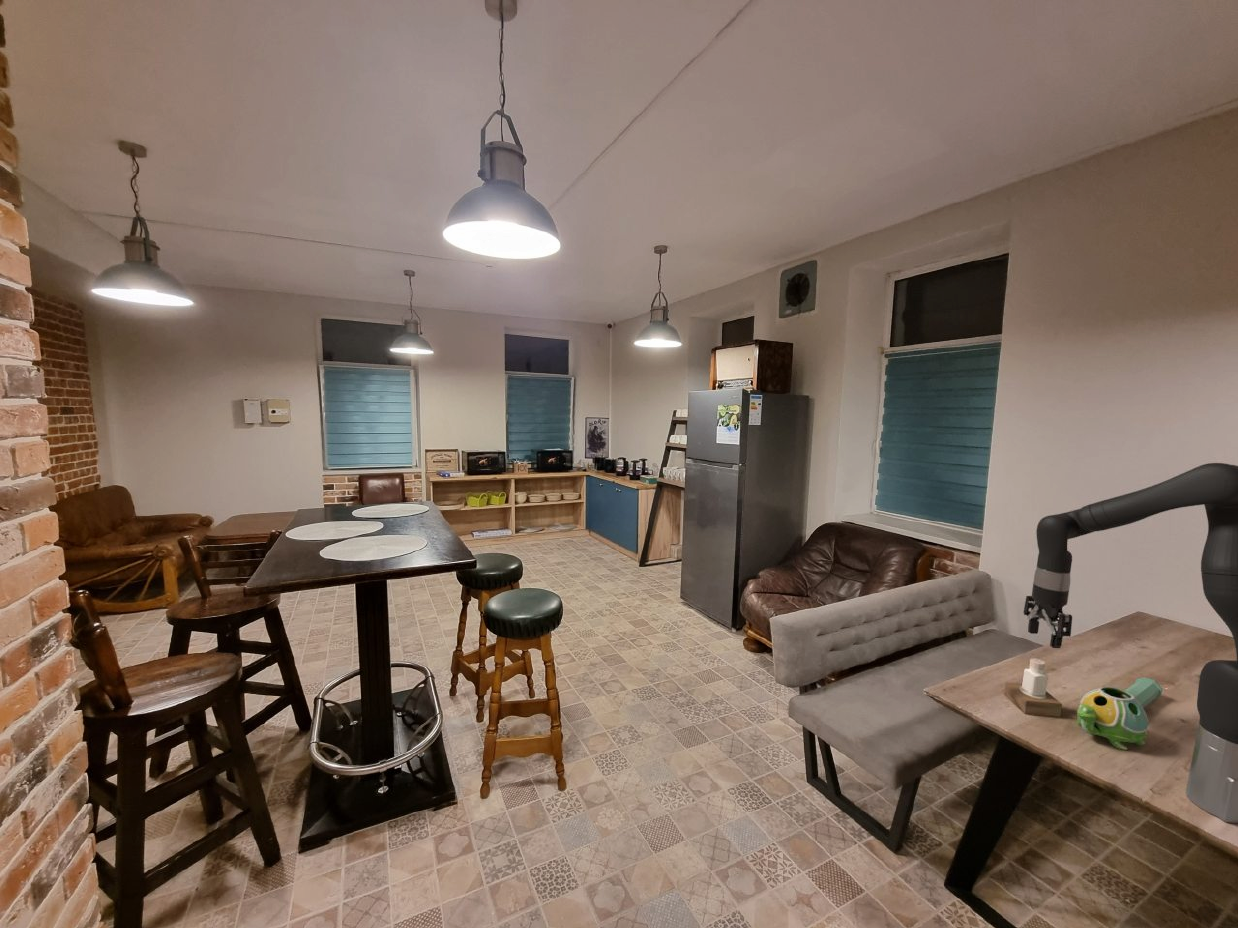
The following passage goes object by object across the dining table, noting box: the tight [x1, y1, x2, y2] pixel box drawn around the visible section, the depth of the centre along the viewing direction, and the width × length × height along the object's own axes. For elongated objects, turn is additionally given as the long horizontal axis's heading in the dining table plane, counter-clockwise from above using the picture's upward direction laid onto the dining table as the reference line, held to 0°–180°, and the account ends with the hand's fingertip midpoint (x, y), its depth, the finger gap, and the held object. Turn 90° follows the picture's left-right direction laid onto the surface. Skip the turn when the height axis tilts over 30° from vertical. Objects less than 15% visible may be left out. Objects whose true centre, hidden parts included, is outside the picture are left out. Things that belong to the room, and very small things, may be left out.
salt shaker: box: [1021, 657, 1049, 696], centre depth 140 cm, size 4×4×10 cm
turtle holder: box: [1076, 686, 1149, 751], centre depth 128 cm, size 12×18×12 cm
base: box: [1003, 681, 1063, 718], centre depth 141 cm, size 9×9×4 cm
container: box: [1122, 676, 1163, 709], centre depth 141 cm, size 6×6×25 cm
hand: (1043, 639), depth 138 cm, fingers open, 8 cm apart
